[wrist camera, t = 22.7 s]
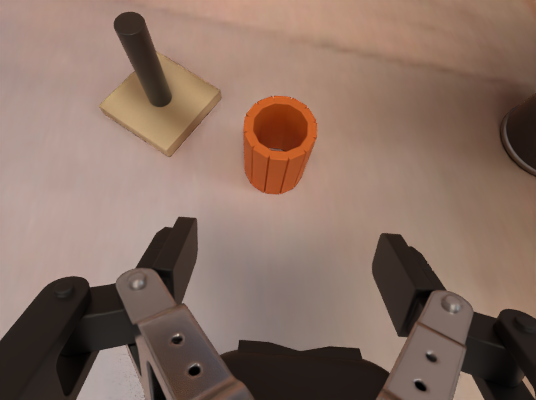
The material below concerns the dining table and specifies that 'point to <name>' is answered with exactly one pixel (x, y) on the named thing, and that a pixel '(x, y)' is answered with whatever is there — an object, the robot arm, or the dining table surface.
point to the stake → (156, 91)
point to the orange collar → (278, 143)
